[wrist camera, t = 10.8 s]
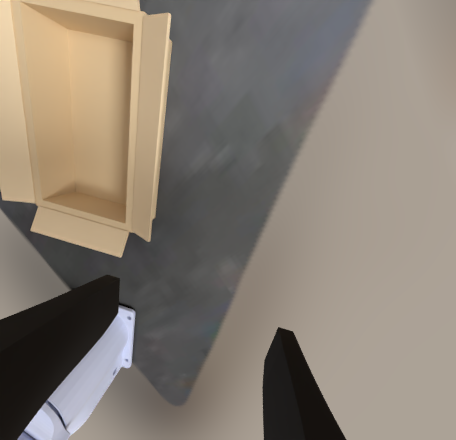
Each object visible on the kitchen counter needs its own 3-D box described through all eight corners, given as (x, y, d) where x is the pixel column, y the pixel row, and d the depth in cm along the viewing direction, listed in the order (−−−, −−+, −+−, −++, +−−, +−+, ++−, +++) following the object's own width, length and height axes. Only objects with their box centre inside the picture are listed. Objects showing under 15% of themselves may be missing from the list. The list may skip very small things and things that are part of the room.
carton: (202, 12, 14) (174, -45, 9) (171, 240, 20) (146, 266, 16) (38, -19, 15) (-51, -83, 10) (57, 208, 21) (6, 224, 17)
